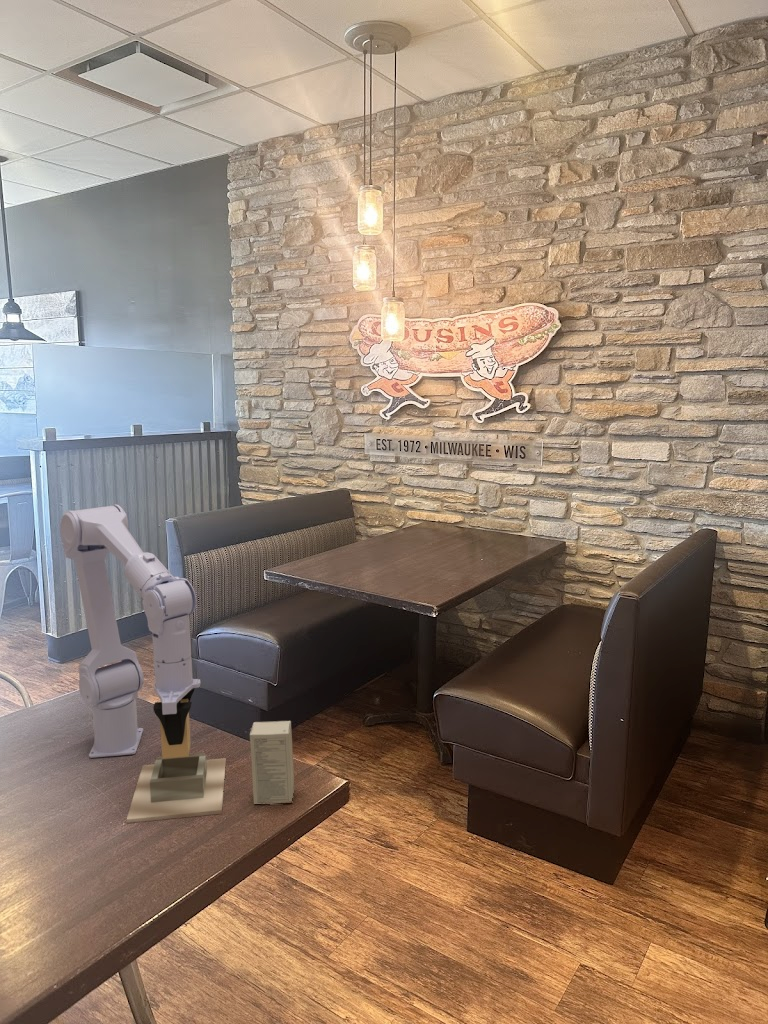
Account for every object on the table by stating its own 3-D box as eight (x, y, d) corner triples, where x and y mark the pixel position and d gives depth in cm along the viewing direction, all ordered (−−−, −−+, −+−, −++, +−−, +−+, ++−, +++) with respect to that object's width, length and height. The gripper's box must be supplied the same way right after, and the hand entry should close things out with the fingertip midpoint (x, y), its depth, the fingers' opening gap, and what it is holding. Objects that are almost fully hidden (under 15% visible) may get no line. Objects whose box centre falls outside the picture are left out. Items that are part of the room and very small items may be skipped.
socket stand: (143, 768, 125) (141, 746, 124) (226, 761, 127) (225, 740, 126) (126, 823, 109) (125, 798, 108) (221, 813, 111) (220, 789, 111)
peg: (165, 746, 118) (162, 700, 117) (190, 744, 119) (188, 698, 118) (162, 758, 115) (159, 711, 113) (188, 756, 115) (185, 709, 114)
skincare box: (294, 789, 118) (292, 720, 116) (292, 805, 114) (290, 733, 112) (255, 790, 118) (253, 720, 116) (251, 806, 113) (249, 734, 111)
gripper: (194, 672, 108) (199, 757, 110) (202, 639, 122) (205, 714, 124) (145, 675, 107) (151, 761, 109) (158, 642, 121) (163, 718, 123)
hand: (177, 736), depth 116 cm, fingers closed on peg, 4 cm apart
